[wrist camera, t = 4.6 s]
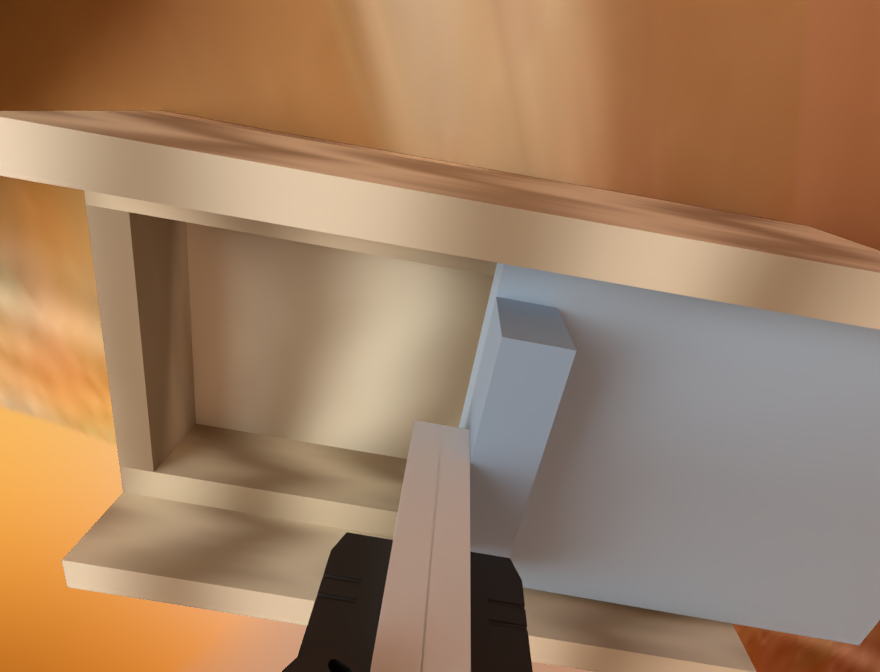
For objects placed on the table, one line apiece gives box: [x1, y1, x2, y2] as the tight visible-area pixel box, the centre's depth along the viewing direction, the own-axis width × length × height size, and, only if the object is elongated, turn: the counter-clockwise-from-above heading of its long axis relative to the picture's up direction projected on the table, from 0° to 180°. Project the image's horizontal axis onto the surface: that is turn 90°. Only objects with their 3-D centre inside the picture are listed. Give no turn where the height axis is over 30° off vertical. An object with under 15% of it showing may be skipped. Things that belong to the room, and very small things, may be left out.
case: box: [0, 111, 880, 672], centre depth 16 cm, size 22×14×7 cm, turn 81°
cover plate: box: [459, 263, 880, 645], centre depth 14 cm, size 15×11×4 cm
